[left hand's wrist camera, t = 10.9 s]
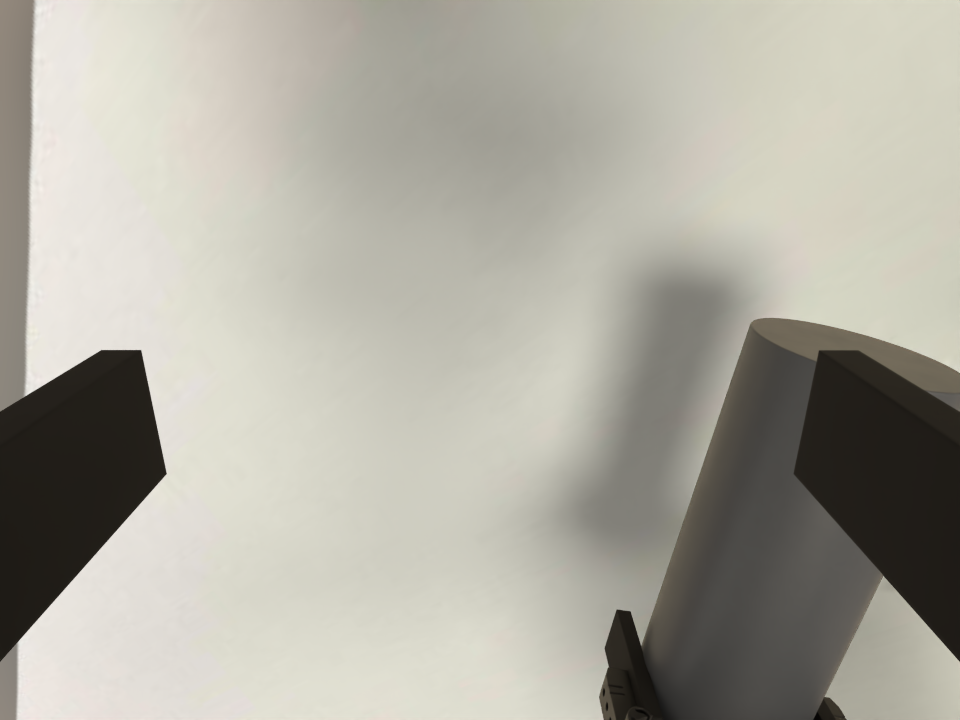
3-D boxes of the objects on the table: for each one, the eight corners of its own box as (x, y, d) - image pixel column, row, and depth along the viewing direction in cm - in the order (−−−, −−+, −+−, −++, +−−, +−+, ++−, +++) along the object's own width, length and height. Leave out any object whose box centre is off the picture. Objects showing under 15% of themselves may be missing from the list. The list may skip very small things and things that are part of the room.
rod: (722, 306, 28) (807, 370, 21) (889, 335, 29) (1031, 408, 21) (603, 680, 36) (634, 824, 28) (736, 698, 36) (800, 844, 29)
